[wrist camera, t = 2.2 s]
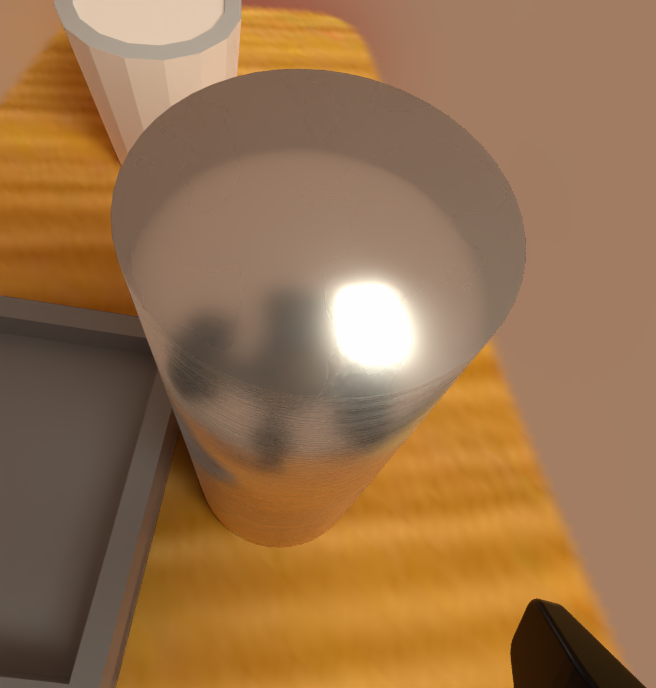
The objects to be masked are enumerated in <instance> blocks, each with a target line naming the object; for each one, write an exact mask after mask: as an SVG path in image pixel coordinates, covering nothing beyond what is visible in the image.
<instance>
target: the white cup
mask: <svg viewBox="0 0 656 688" xmlns="http://www.w3.org/2000/svg"><path fill="white" fill-rule="evenodd" d="M54 6H55V8H56V11H57V13H58V16H59V18H60V20H61V23H62V25H63V28H64V30H65V32H66V35H67V37H68V40H69V42H70V44H71V47H72V49H73V52H74V54H75V56H76V59H77V61H78V64H79V66H80V68H81V71H82V73H83V76H84V78H85V80H86V83H87V85H88V88H89V90H90V92H91V95H92V97H93V100H94V102H95V104H96V107H97V109H98V112H99V114H100V116H101V119H102V121H103V124H104V126H105V128H106V131H107V133H108V136H109V138H110V141H111V143H112V145H113V148H114V150H115V152H116V155H117V157H118V159H119V161H120V164H121V165H122V164H123V162H124V160H125V158H126V156H127V154H128V152H129V151H130V149H131V148H132V146H133V145H134V144H135V142H136V141H137V139H138V138H139V136H140V135H141V134H142V133H143V132H144V131H145V130H146V128H147V127H148V126H149V125H150V124H151V123H152V122H153V121H154V120H155V119H156V118H157V117H159V116H160V115H161V114H162V113H164V112H165V111H166V110H167V109H169V108H170V107H171V106H172V105H174V104H176V103H177V102H179V101H180V100H182V99H184V98H185V97H187V96H189V95H190V94H192V93H194V92H196V91H199V90H201V89H203V88H205V87H207V86H210V85H212V84H215V83H218V82H221V81H224V80H227V79H230V78H233V77H237V68H238V55H239V41H240V28H241V0H55V2H54Z"/></svg>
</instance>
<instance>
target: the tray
mask: <svg viewBox="0 0 656 688" xmlns="http://www.w3.org/2000/svg"><path fill="white" fill-rule="evenodd" d="M179 429H180V427H179V425H178V422H177V419H176V417H175V414H174V411H173V408H172V406H171V403H170V400H169V398H168V395H167V392H166V389H165V387H164V384H163V381H162V379H161V376H160V373H159V370H158V368H157V365H156V362H155V360H154V357H153V354H152V352H151V349H150V346H149V343H148V341H147V338H146V335H145V333H144V330H143V327H142V324H141V322H140V319H139V317H137V316H131V315H124V314H118V313H111V312H105V311H98V310H92V309H85V308H79V307H72V306H66V305H59V304H53V303H46V302H40V301H33V300H27V299H20V298H14V297H7V296H1V295H0V688H116V684H117V680H118V676H119V672H120V668H121V664H122V660H123V656H124V652H125V648H126V644H127V640H128V636H129V631H130V627H131V623H132V619H133V615H134V611H135V607H136V603H137V599H138V595H139V591H140V587H141V583H142V579H143V575H144V571H145V567H146V563H147V559H148V554H149V550H150V546H151V542H152V538H153V534H154V530H155V526H156V522H157V518H158V514H159V510H160V506H161V502H162V498H163V494H164V490H165V486H166V482H167V477H168V473H169V469H170V465H171V461H172V457H173V453H174V449H175V445H176V441H177V437H178V433H179Z"/></svg>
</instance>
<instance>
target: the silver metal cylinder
mask: <svg viewBox="0 0 656 688" xmlns="http://www.w3.org/2000/svg"><path fill="white" fill-rule="evenodd" d="M111 226H112V238H113V242H114V246H115V251H116V255H117V259H118V262H119V265H120V267H121V270H122V273H123V276H124V278H125V281H126V284H127V286H128V289H129V292H130V295H131V297H132V300H133V303H134V305H135V308H136V311H137V314H138V316H139V319H140V322H141V324H142V327H143V330H144V333H145V335H146V338H147V341H148V343H149V346H150V349H151V352H152V354H153V357H154V360H155V362H156V365H157V368H158V370H159V373H160V376H161V379H162V381H163V384H164V387H165V389H166V392H167V395H168V398H169V400H170V403H171V406H172V408H173V411H174V414H175V417H176V419H177V422H178V425H179V427H180V430H181V433H182V436H183V438H184V441H185V444H186V446H187V449H188V452H189V455H190V457H191V460H192V463H193V465H194V468H195V471H196V474H197V476H198V479H199V482H200V484H201V487H202V490H203V493H204V495H205V498H206V500H207V502H208V505H209V506H210V508H211V510H212V512H213V513H214V515H215V516H216V517H217V518H218V520H219V521H220V522H221V523H222V524H223V525H224V526H225V527H226V528H227V529H228V530H230V531H231V532H232V533H234V534H235V535H237V536H238V537H240V538H242V539H244V540H246V541H248V542H251V543H254V544H257V545H261V546H266V547H278V548H280V547H291V546H296V545H300V544H303V543H306V542H309V541H312V540H313V539H315V538H317V537H319V536H321V535H322V534H324V533H325V532H326V531H328V530H329V529H330V528H331V527H333V526H334V525H335V524H336V523H337V522H338V521H339V519H340V518H341V517H342V516H343V515H344V513H345V512H346V511H347V510H348V509H349V507H350V506H351V505H352V504H353V503H354V501H355V500H356V499H357V498H358V497H359V495H360V494H361V493H362V492H363V491H364V489H365V488H366V487H367V486H368V485H369V484H370V482H371V481H372V480H373V479H374V478H375V476H376V475H377V474H378V473H379V472H380V470H381V469H382V468H383V467H384V466H385V464H386V463H387V462H388V461H389V460H390V458H391V457H392V456H393V455H394V454H395V452H396V451H397V450H398V449H399V448H400V446H401V445H402V444H403V443H404V442H405V440H406V439H407V438H408V437H409V436H410V434H411V433H412V432H413V431H414V430H415V428H416V427H417V426H418V425H419V424H420V422H421V421H422V420H423V419H424V418H425V417H426V415H427V414H428V413H429V412H430V411H431V409H432V408H433V407H434V406H435V405H436V403H437V402H438V401H439V400H440V399H441V397H442V396H443V395H444V394H445V393H446V391H447V390H448V389H449V388H450V387H451V385H452V384H453V383H454V382H455V381H456V379H457V378H458V377H459V376H460V375H461V373H462V372H463V371H464V370H465V369H466V367H467V366H468V365H469V364H470V363H471V361H472V360H473V359H474V358H475V357H476V355H477V354H478V353H479V352H480V351H481V349H482V348H483V347H484V346H485V345H486V344H487V342H488V341H489V340H490V339H491V337H492V336H493V335H494V334H495V332H496V331H497V330H498V329H499V327H500V326H501V325H502V323H503V322H504V321H505V319H506V317H507V315H508V314H509V312H510V310H511V308H512V306H513V305H514V303H515V300H516V298H517V295H518V292H519V289H520V286H521V283H522V280H523V274H524V268H525V261H526V238H525V232H524V226H523V220H522V216H521V213H520V210H519V206H518V203H517V200H516V198H515V195H514V193H513V191H512V189H511V187H510V185H509V183H508V181H507V179H506V177H505V176H504V174H503V173H502V171H501V170H500V168H499V167H498V165H497V164H496V162H495V161H494V159H493V158H492V157H491V156H490V155H489V153H487V151H486V150H485V149H484V147H483V146H482V145H481V144H480V143H479V142H478V141H477V140H476V139H475V138H474V137H473V136H472V135H471V134H470V133H469V132H468V131H467V130H465V129H464V128H463V127H462V126H460V125H459V124H458V123H457V122H455V121H454V120H453V119H451V118H450V117H449V116H447V115H446V114H444V113H443V112H441V111H440V110H438V109H437V108H435V107H434V106H432V105H431V104H429V103H427V102H425V101H423V100H421V99H419V98H417V97H415V96H413V95H412V94H409V93H407V92H405V91H402V90H400V89H397V88H395V87H393V86H390V85H387V84H384V83H381V82H378V81H375V80H372V79H369V78H364V77H360V76H356V75H351V74H347V73H340V72H333V71H326V70H312V69H282V70H271V71H263V72H255V73H251V74H246V75H242V76H237V77H233V78H230V79H227V80H224V81H221V82H218V83H215V84H212V85H210V86H207V87H205V88H203V89H201V90H199V91H196V92H194V93H192V94H190V95H189V96H187V97H185V98H184V99H182V100H180V101H179V102H177V103H176V104H174V105H172V106H171V107H170V108H169V109H167V110H166V111H165V112H164V113H162V114H161V115H160V116H159V117H157V118H156V119H155V120H154V121H153V122H152V123H151V124H150V125H149V126H148V127H147V128H146V130H145V131H144V132H143V133H142V134H141V135H140V136H139V138H138V139H137V141H136V142H135V144H134V145H133V146H132V148H131V149H130V151H129V152H128V154H127V156H126V158H125V160H124V162H123V164H122V167H121V169H120V171H119V174H118V177H117V181H116V184H115V187H114V191H113V198H112V207H111Z"/></svg>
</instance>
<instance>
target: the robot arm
mask: <svg viewBox="0 0 656 688" xmlns="http://www.w3.org/2000/svg"><path fill="white" fill-rule="evenodd" d="M510 655H511V665H512V674H513V683H514V688H646V687H645V686H644V685H643V684H642V683H641V682H640V681H639V680H638V679H637V678H636V677H635V676H634V675H633V674H632V673H631V672H630V671H629V670H628V669H627V668H625V667H624V666H623V665H622V664H621V663H620V662H619V661H618V660H617V659H616V658H615V657H614V656H613V655H612V654H611V653H610V652H609V651H608V650H607V649H606V648H605V647H604V646H603V645H602V644H601V643H600V642H599V641H598V640H597V639H596V638H595V637H594V636H593V635H592V634H591V633H590V632H589V631H588V630H587V629H585V628H584V627H583V626H582V625H581V624H580V623H579V622H578V621H577V620H576V619H575V618H574V617H573V616H572V615H571V614H570V613H569V612H568V611H567V610H566V609H565V608H564V607H563V606H561V605H559V604H557V603H553V602H549V601H545V600H541V599H533V600H532V601H531V602H530V603H529V604H528V606H527V608H526V610H525V612H524V615H523V617H522V619H521V621H520V623H519V626H518V628H517V630H516V632H515V634H514V637H513V639H512V643H511V652H510Z"/></svg>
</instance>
